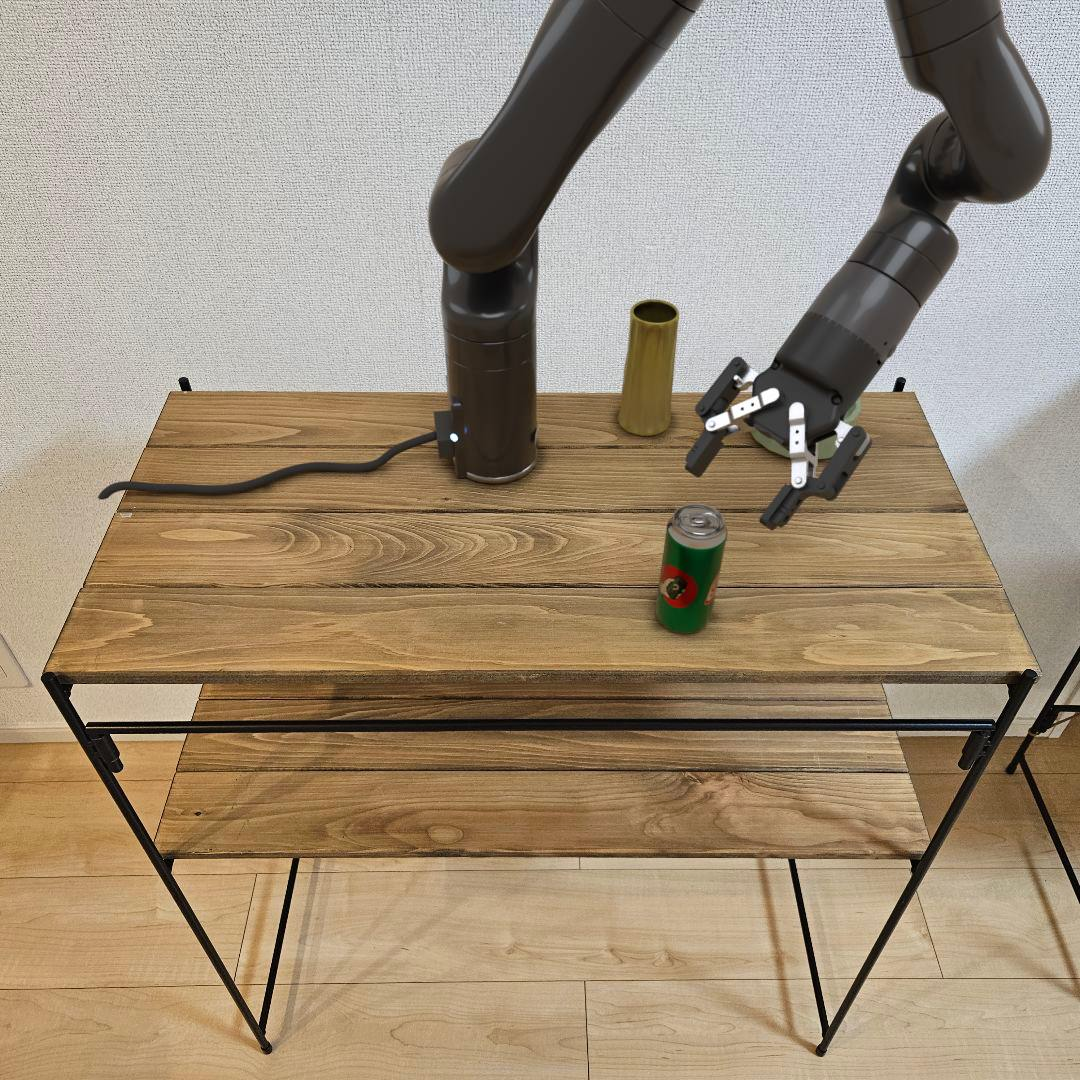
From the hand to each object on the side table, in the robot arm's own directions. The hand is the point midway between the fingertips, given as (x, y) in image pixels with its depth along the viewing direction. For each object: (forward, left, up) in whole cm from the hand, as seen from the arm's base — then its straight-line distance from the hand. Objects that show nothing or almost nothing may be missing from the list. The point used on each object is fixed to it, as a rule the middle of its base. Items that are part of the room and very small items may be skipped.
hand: (727, 499), depth 75 cm
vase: (+1, +28, -13) cm, 31 cm away
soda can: (-3, -2, -13) cm, 13 cm away
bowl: (+18, +23, -13) cm, 32 cm away
